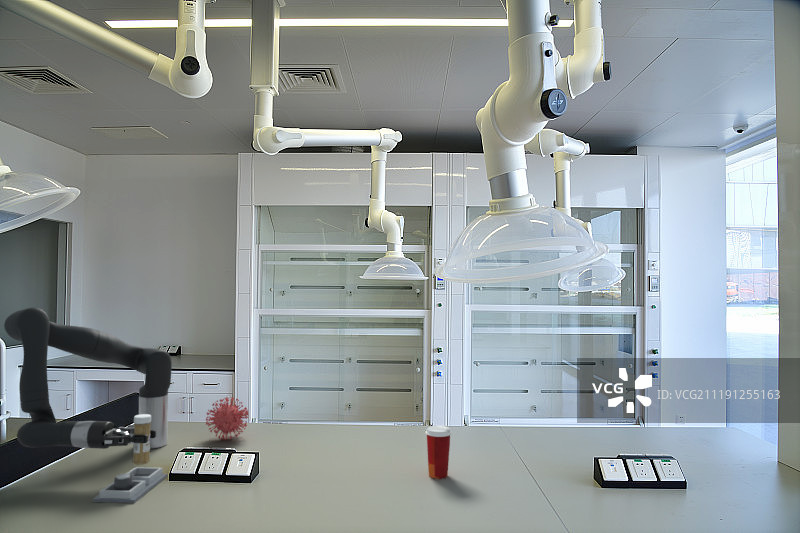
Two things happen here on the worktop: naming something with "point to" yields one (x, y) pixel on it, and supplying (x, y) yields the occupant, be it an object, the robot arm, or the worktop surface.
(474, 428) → the worktop surface
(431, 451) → the paper cup
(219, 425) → the virus model
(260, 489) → the worktop surface
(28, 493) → the worktop surface
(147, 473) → the grey flat tray
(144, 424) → the sprinkles bottle
